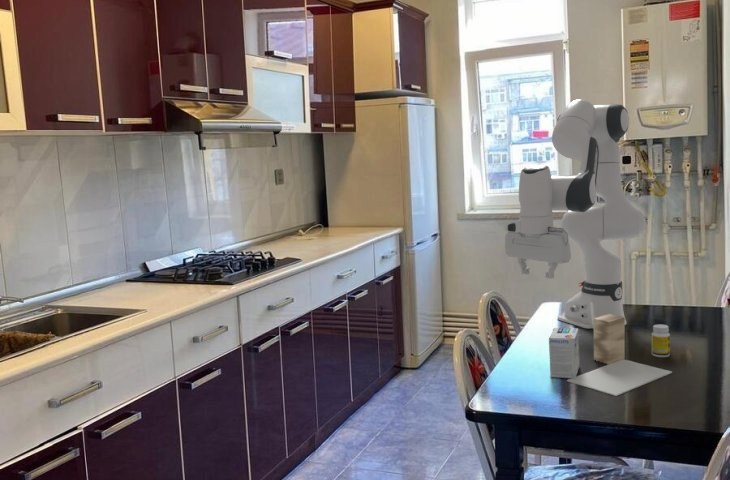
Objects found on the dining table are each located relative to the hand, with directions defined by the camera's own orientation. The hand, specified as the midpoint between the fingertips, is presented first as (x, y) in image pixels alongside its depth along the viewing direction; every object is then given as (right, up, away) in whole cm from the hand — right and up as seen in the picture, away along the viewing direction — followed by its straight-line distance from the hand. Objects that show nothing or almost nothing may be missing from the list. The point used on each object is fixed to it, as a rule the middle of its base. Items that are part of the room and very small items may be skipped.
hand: (537, 276), depth 185 cm
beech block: (+21, -24, +5) cm, 32 cm away
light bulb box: (+7, -26, -4) cm, 27 cm away
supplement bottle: (+36, -23, +6) cm, 43 cm away
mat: (+19, -26, -9) cm, 33 cm away
